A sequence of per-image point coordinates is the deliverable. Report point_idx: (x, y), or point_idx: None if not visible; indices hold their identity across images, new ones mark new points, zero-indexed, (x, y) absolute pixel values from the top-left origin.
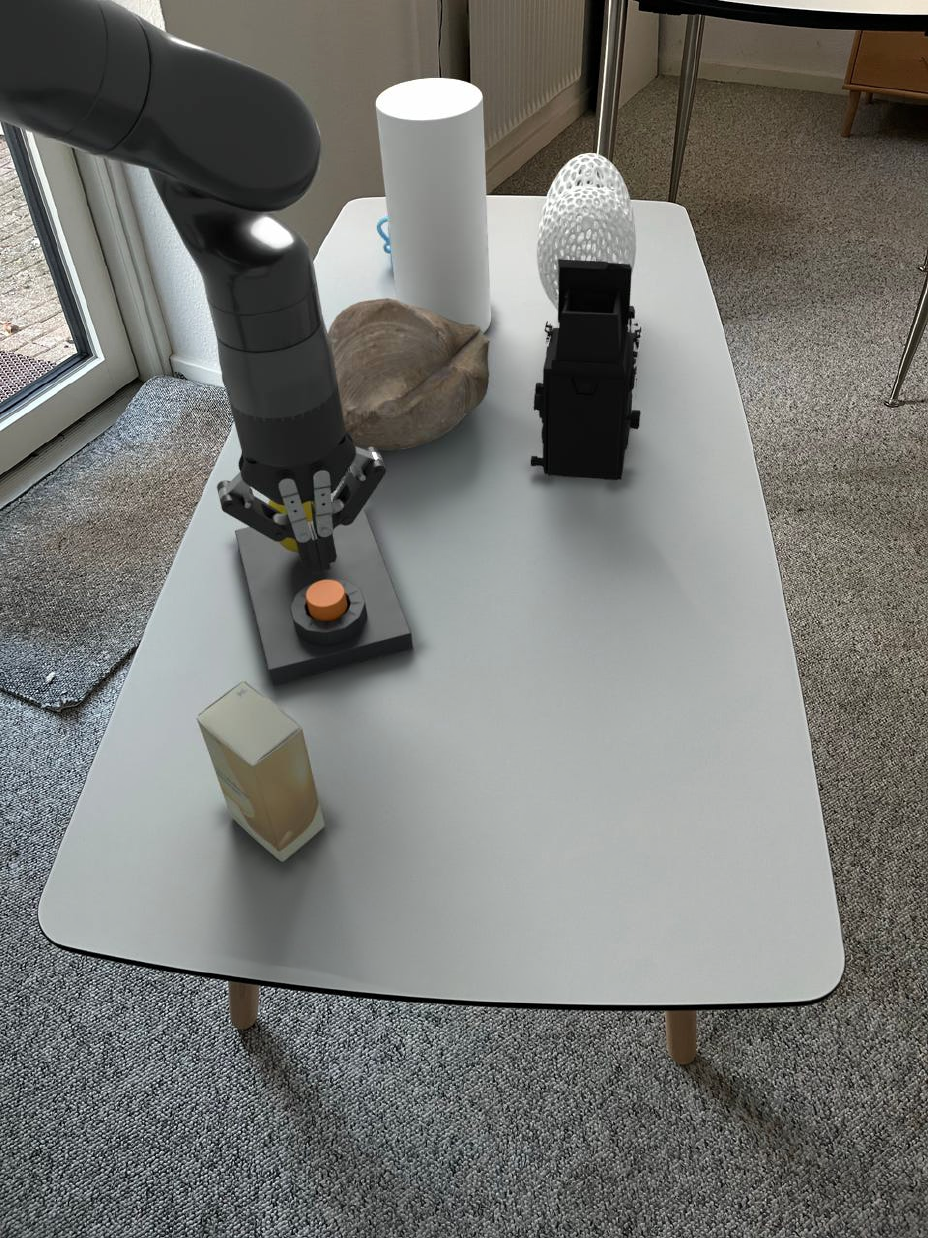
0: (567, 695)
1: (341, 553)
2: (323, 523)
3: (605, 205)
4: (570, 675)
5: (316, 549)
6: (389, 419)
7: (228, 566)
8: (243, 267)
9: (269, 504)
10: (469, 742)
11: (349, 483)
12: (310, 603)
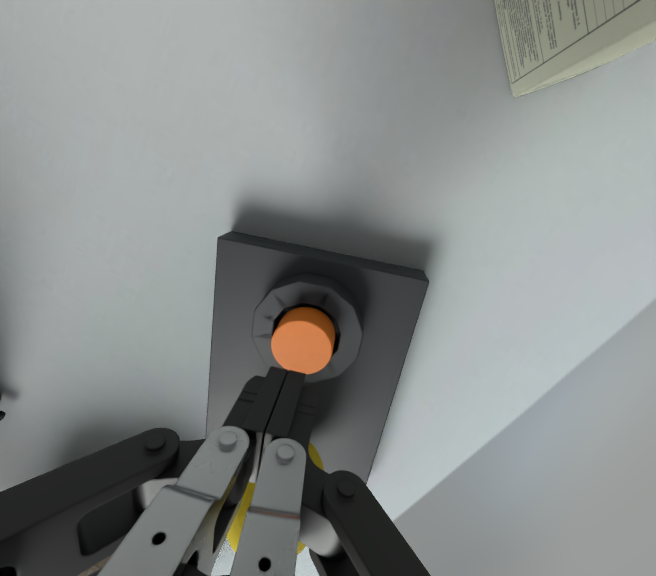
0: (54, 25)
1: None
2: (217, 464)
3: None
4: (41, 62)
5: (274, 410)
6: (103, 565)
7: (384, 463)
8: None
9: None
10: (216, 11)
11: (66, 558)
12: (330, 341)
